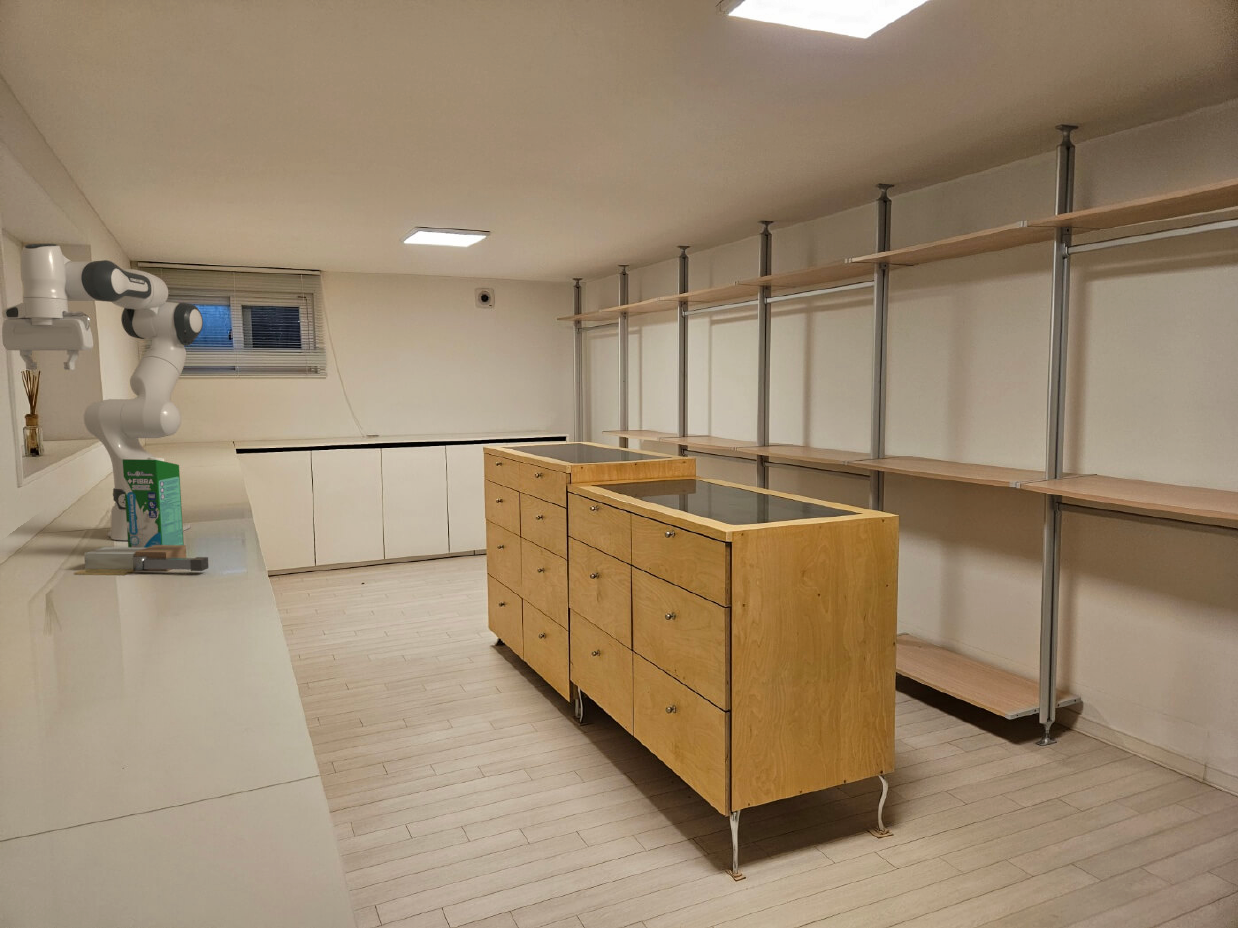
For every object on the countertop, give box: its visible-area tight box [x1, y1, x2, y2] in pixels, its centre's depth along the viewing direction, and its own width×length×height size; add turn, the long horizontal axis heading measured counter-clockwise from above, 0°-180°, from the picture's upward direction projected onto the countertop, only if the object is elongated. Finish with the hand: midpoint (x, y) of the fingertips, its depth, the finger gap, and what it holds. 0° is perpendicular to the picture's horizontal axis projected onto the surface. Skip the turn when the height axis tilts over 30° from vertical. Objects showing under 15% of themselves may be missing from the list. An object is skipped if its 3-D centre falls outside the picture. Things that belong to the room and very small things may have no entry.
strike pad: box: [73, 568, 135, 576], centre depth 192 cm, size 4×12×1 cm, turn 86°
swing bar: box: [133, 555, 209, 572], centre depth 191 cm, size 17×3×3 cm, turn 86°
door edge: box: [83, 544, 188, 572], centre depth 198 cm, size 8×20×4 cm, turn 86°
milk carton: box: [123, 456, 185, 548], centre depth 211 cm, size 9×9×25 cm
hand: (50, 369), depth 200 cm, fingers open, 8 cm apart
